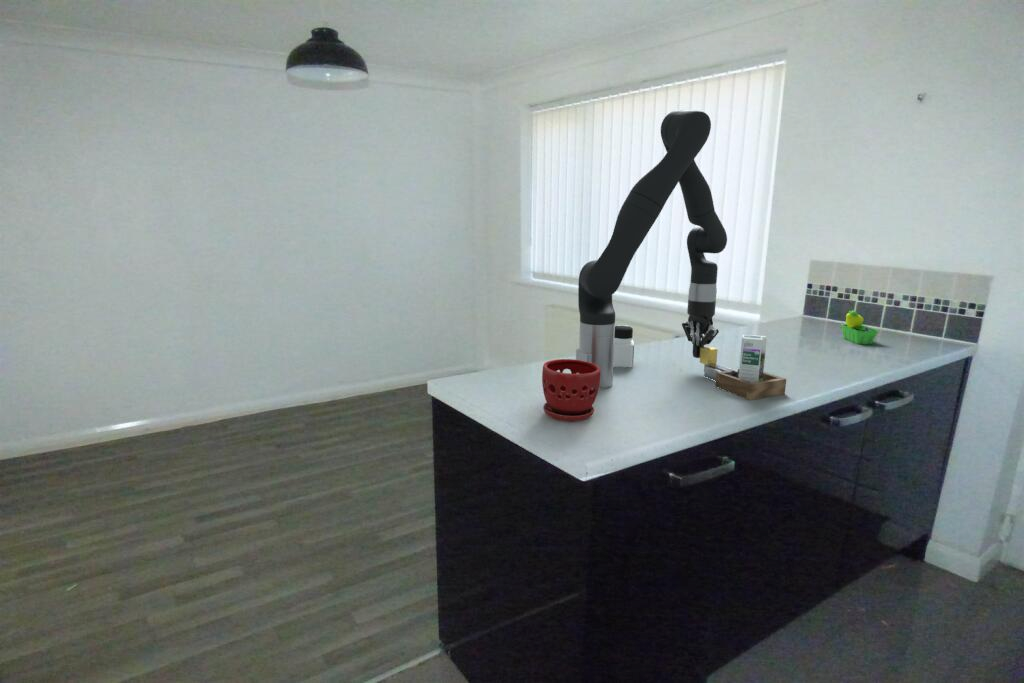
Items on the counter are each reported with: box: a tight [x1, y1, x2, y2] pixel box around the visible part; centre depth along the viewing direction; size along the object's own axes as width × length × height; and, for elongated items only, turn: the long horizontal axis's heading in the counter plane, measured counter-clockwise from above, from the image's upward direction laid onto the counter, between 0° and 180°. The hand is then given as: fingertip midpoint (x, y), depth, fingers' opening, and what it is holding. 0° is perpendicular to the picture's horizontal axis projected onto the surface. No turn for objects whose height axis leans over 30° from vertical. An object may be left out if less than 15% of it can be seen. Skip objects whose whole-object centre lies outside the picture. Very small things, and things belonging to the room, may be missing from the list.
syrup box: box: [738, 334, 767, 383], centre depth 143 cm, size 6×6×14 cm
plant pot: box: [541, 358, 601, 423], centre depth 126 cm, size 13×13×12 cm
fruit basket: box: [840, 310, 879, 345], centre depth 199 cm, size 11×9×11 cm
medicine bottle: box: [613, 324, 635, 369], centre depth 169 cm, size 7×7×12 cm
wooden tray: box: [715, 368, 787, 401], centre depth 145 cm, size 12×12×4 cm
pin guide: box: [703, 364, 738, 382], centre depth 154 cm, size 5×8×3 cm, turn 24°
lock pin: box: [699, 345, 736, 377], centre depth 154 cm, size 3×11×7 cm, turn 24°
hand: (697, 357), depth 162 cm, fingers closed
